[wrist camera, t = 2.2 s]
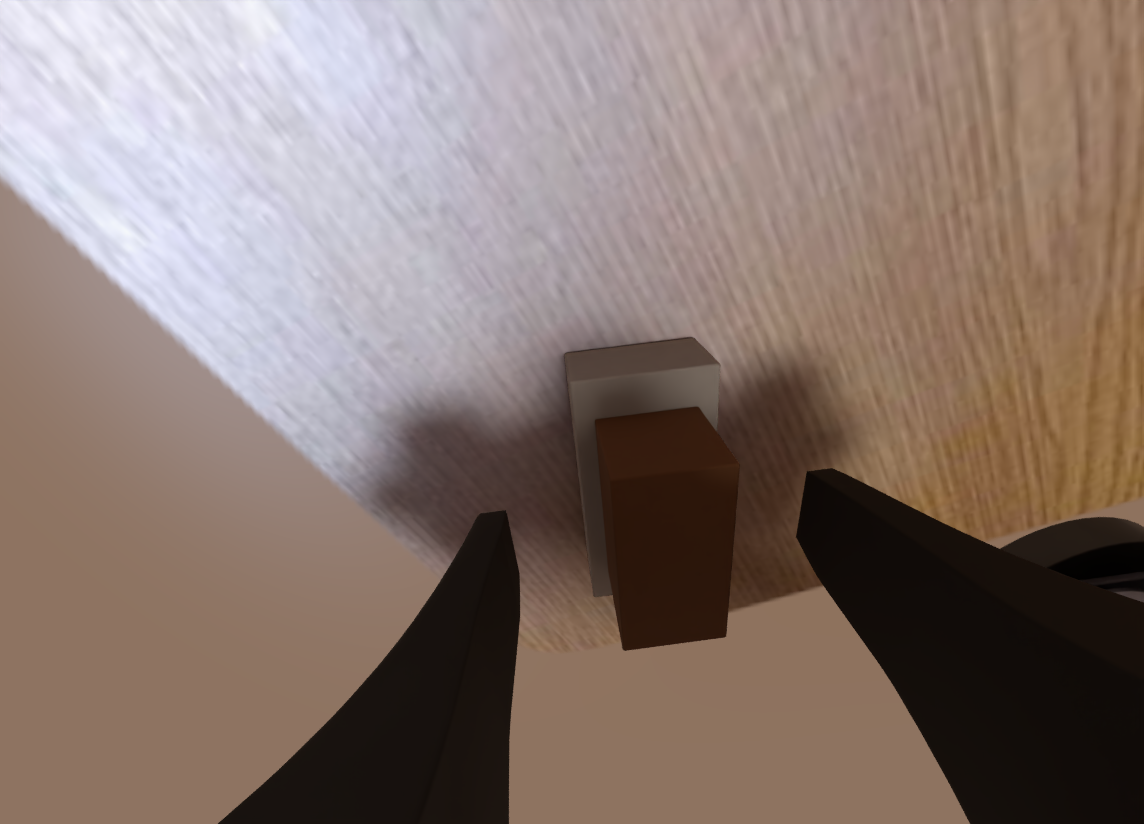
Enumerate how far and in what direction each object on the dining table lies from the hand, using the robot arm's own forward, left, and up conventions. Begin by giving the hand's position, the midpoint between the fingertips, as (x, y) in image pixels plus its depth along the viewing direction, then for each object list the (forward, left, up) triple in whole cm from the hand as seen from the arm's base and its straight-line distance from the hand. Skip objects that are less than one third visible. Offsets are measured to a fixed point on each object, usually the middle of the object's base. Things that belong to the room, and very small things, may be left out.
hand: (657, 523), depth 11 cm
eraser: (0, 0, -3) cm, 3 cm away
